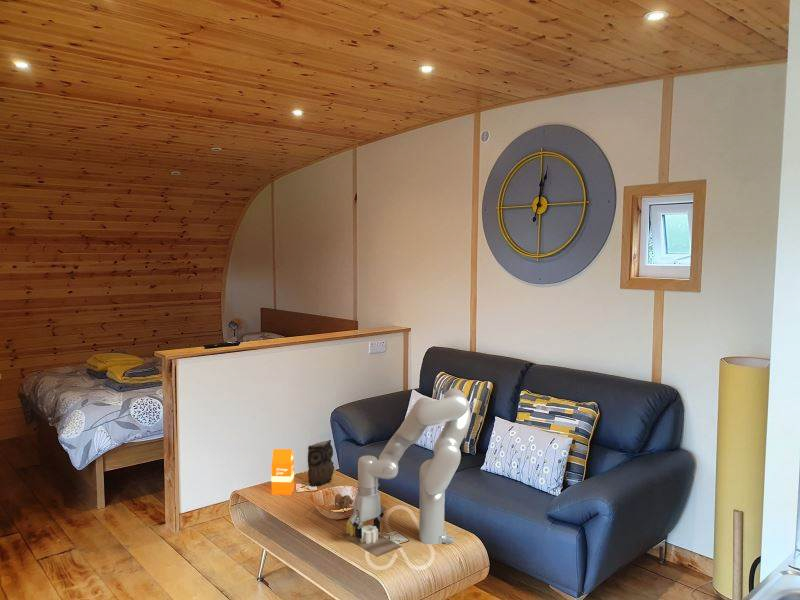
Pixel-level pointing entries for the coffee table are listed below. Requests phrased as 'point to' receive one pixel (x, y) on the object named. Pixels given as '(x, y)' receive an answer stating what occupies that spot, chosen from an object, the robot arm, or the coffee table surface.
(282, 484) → the orange juice
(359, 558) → the coffee table surface
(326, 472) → the owl
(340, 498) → the lion figurine
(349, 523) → the gear
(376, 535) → the loose gear
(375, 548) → the gear board
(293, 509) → the coffee table surface
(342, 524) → the coffee table surface
